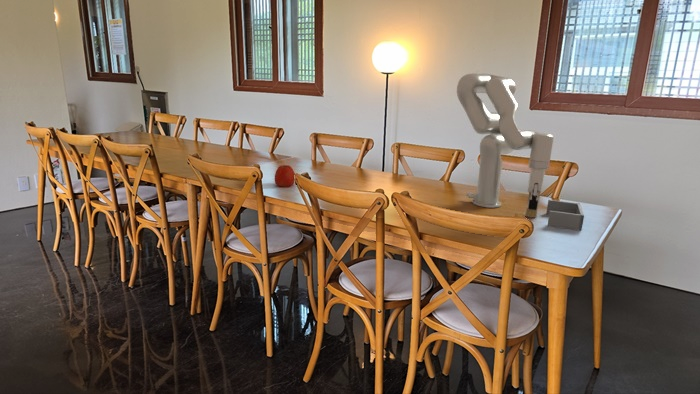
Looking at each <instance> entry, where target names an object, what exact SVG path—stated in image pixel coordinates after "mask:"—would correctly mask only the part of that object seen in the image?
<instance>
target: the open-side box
mask: <svg viewBox="0 0 700 394" xmlns="http://www.w3.org/2000/svg"><path fill="white" fill-rule="evenodd" d="M545 213H546V214H547V215H548V219H547V226H548V227H554V228H562V229H569V230H573V231H574V230H575V231H582V229H583V224H584V218H585V214H584V211H583V209H582V207H581V203H579V202H570V201H562V200H554V199H548V201H547V207H546V212H545Z"/></svg>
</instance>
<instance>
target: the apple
mask: <svg viewBox="0 0 700 394" xmlns="http://www.w3.org/2000/svg"><path fill="white" fill-rule="evenodd" d="M294 175H295V176H296V173H295V170H294V169H293V167H292V166H290V165H289V164H288V165H287V164H286V165H284V164H283V165H282V164H281V165H279V166H278V167H277V169H276V171H275V173H274V182H275V184H276V186H278V187H280V188H289V187H292V186H293V185H294V184H295V182H294Z"/></svg>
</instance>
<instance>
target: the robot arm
mask: <svg viewBox="0 0 700 394" xmlns="http://www.w3.org/2000/svg"><path fill="white" fill-rule="evenodd" d="M516 89H517V88H516V83H515V82H514V80H512V79H511V78H509V77H504V76H500V75H495V74H490V73H478V72H476V73H474V72H473V73H468V74H465V75H462V77H460V79H459V81H458V82H457V86H456V96H457V99H458V101H459V103H460V104H461V106H462V108H463V109H464V111H465V113H466V116H467V117H468V120H469V121H470V122H469V123H470V124H471V127H472V128H473V130H474V132H476V134H479V135H485V136H484V137H482V139H481V141H480V143H479V156H480V157H479V159H480V160H479V161H480V162H479V169H478V179H477V190H476V192H466V194H465V195H466V198H470V199H472V201H471V202H472V204H473V205H475V206H478V207H482V208H493V209H494V208H499V207H501V206H502V202H501V201H500V200H499V196H500V188H501V182H502V181H501V180H502V174H503V173H502V172H503V161H502V155H509V154H511V153H512V152H513V151H523V150H529V149H531V150H530V154H529V161H528V168H529V169H530V172H529V177H528V183H527V192H528V193H529V192H531V198H530V200H529V206H528V209H532V210H537V204H538V194H540V195H541V192H542V189H543V188H542V187H543V184H544V180H545V179H544V178H545V174H546V172H545V171H547V170H549V167H550V164H551V163H550V161H551V156H552V150H553V145H554V144H553V143H554V135H552V134H550V133H544V132H536V131H534V130H520V129H519V128H518V126H517V123H516V122H515V121H516V120H515V113H516V112H517V111H518V110H519V104H518V103H517V101H516V99H515V97H514V95H515V92H516ZM477 94H486V95H487V97H488V99H489V101H490V102H491V103H492V105H493V107H494V109H495V111H496V112H495V111H493V112H490V111H489V110H488V108H486V106H485V103H484V102H483V100H482V99H481V98H480V97H479V95H477ZM534 184H535V186H534ZM532 191H534V192H532ZM537 192H538V193H537ZM532 194H533V195H532ZM537 211H538V210H537Z"/></svg>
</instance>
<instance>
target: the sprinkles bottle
mask: <svg viewBox="0 0 700 394" xmlns="http://www.w3.org/2000/svg"><path fill="white" fill-rule="evenodd" d="M534 186H535V184H534ZM532 192H534V191H532ZM537 193H538V192H537ZM532 195H533V194H532ZM530 198H531V192H528V197H527V203H526V209H525V216H526V217H528V218H537V217H538V215H537V214H538V209H539V204H540V198H541V193H540V194H538V204H537V210H532V209H528V206H529V200H530Z"/></svg>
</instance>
